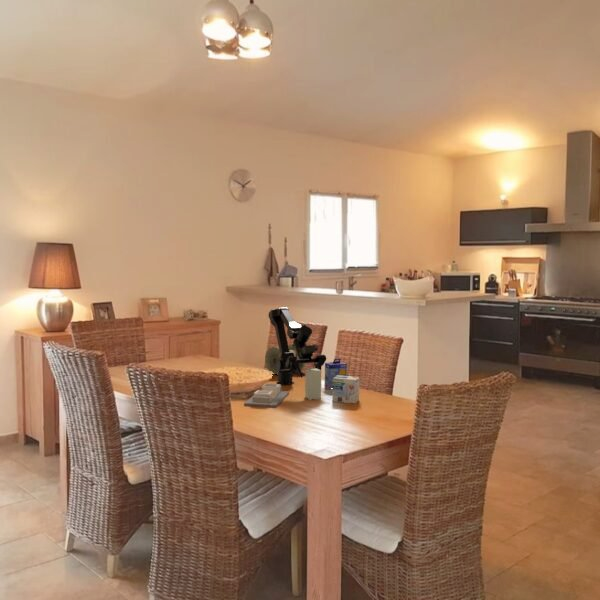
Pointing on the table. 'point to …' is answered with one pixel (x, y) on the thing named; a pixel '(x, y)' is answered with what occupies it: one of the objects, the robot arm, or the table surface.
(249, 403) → the rail board
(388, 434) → the table surface
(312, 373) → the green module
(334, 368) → the ink cartridge box
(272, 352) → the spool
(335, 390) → the light bulb box
